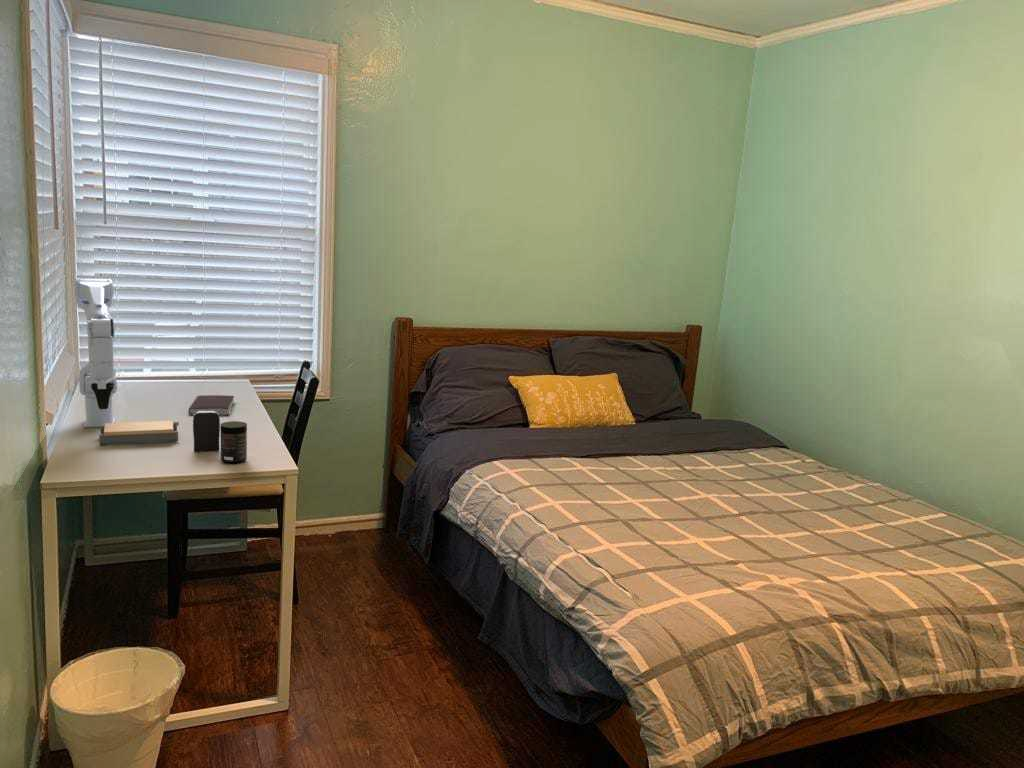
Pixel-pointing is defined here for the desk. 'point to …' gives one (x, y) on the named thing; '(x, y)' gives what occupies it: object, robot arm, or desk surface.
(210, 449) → the battery charger
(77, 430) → the desk surface
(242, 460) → the supplement container
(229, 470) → the desk surface
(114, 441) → the grey tray with rod
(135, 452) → the desk surface
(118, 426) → the cover
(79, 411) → the desk surface
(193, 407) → the book
